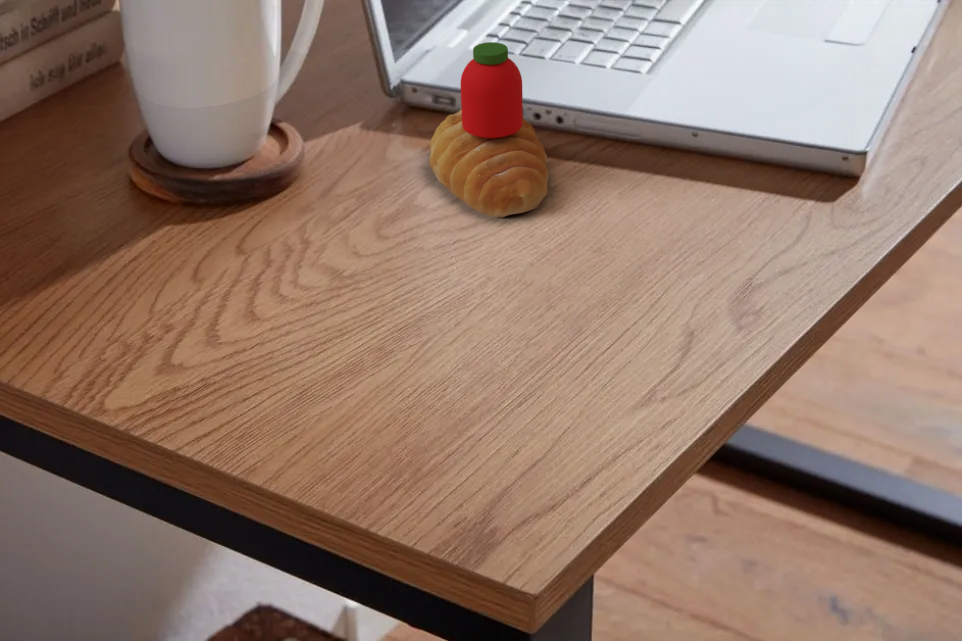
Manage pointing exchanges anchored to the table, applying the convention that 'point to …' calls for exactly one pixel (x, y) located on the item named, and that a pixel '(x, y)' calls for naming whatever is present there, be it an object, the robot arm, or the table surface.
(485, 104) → the red sauce bottle
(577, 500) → the table surface
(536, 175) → the pastry
